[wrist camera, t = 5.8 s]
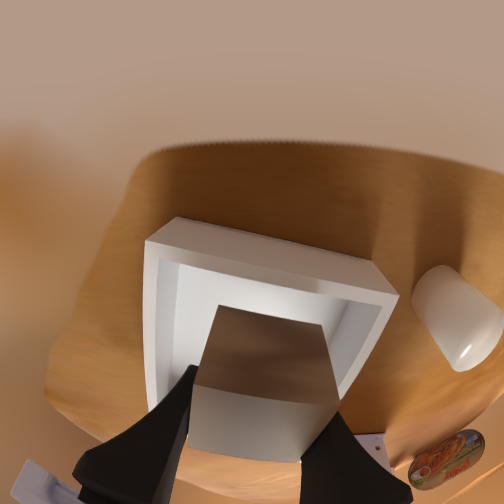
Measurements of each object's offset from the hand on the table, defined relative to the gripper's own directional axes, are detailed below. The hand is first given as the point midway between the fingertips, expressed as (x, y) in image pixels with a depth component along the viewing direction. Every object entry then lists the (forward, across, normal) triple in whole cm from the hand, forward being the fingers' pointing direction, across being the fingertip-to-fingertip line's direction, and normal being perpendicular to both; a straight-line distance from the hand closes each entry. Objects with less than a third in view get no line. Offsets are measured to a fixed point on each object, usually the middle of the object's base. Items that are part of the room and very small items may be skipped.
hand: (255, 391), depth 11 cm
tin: (+9, -39, +24) cm, 47 cm away
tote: (+8, 0, +4) cm, 9 cm away
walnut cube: (+2, 0, 0) cm, 2 cm away
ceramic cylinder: (+8, -14, -4) cm, 17 cm away
